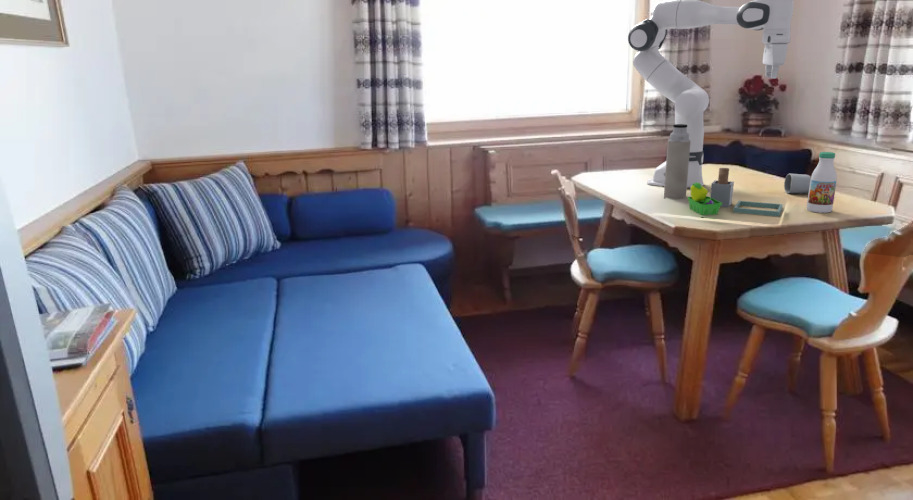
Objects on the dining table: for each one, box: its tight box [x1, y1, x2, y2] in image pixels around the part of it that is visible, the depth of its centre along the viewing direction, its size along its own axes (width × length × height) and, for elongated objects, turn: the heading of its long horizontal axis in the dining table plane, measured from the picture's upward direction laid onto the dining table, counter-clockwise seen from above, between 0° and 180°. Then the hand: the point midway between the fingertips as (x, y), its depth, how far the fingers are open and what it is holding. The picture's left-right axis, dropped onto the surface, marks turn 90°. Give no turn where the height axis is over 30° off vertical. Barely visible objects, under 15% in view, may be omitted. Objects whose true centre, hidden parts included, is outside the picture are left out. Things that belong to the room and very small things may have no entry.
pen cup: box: [709, 179, 735, 208], centre depth 223 cm, size 6×6×9 cm
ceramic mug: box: [783, 173, 812, 195], centre depth 243 cm, size 11×8×8 cm
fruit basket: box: [687, 183, 722, 219], centre depth 215 cm, size 11×9×11 cm
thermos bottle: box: [663, 123, 691, 200], centre depth 235 cm, size 8×8×28 cm
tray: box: [732, 200, 784, 217], centre depth 215 cm, size 14×12×2 cm
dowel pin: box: [717, 167, 730, 184], centre depth 223 cm, size 3×3×13 cm
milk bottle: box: [806, 151, 838, 214], centre depth 214 cm, size 8×8×20 cm
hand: (770, 77), depth 231 cm, fingers open, 8 cm apart
